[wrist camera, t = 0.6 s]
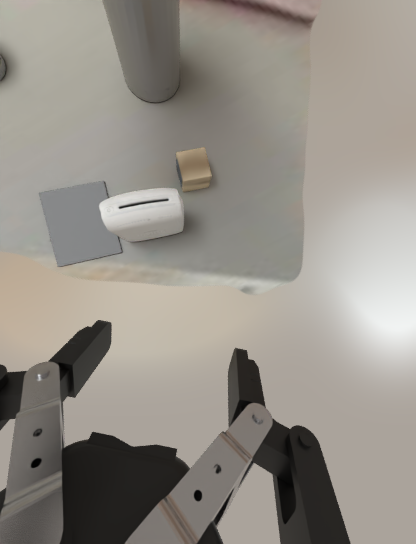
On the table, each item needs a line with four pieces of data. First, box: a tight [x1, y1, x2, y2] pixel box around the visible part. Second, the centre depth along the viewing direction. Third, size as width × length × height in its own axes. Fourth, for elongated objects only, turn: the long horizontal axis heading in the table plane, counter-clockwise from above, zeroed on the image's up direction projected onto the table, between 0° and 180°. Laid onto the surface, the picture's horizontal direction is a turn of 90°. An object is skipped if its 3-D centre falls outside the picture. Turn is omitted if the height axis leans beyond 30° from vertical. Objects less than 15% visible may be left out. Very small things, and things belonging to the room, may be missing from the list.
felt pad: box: [39, 181, 122, 267], centre depth 35 cm, size 12×10×1 cm
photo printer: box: [99, 188, 184, 242], centre depth 30 cm, size 10×4×12 cm, turn 102°
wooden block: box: [176, 147, 212, 192], centre depth 35 cm, size 4×5×4 cm
